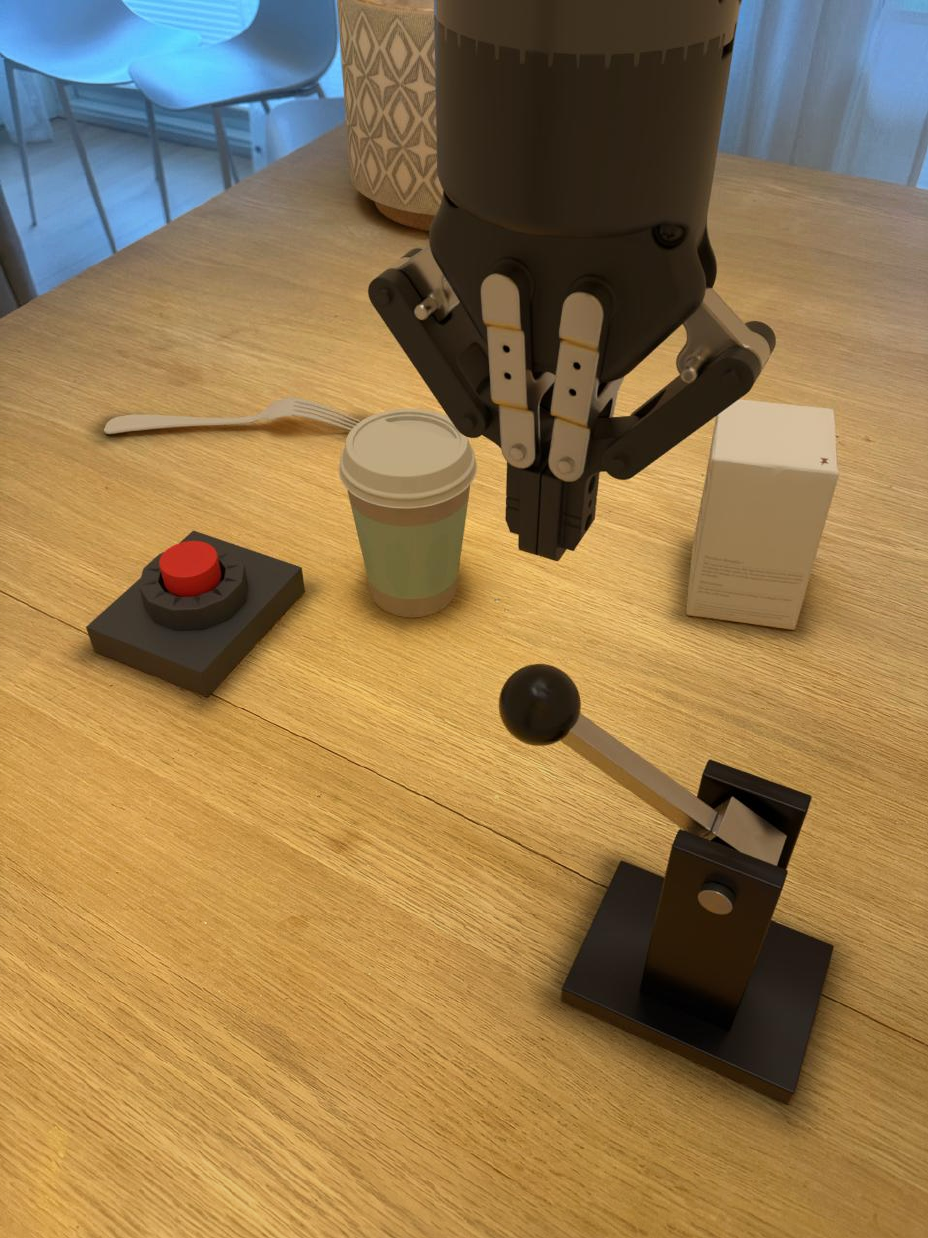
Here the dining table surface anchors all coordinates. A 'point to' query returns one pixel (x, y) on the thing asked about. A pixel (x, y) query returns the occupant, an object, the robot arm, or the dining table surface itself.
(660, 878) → the bracket
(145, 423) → the fork
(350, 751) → the dining table surface
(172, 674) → the button block
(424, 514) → the coffee cup
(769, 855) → the lever
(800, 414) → the white packaging box
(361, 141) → the planter
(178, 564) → the button
